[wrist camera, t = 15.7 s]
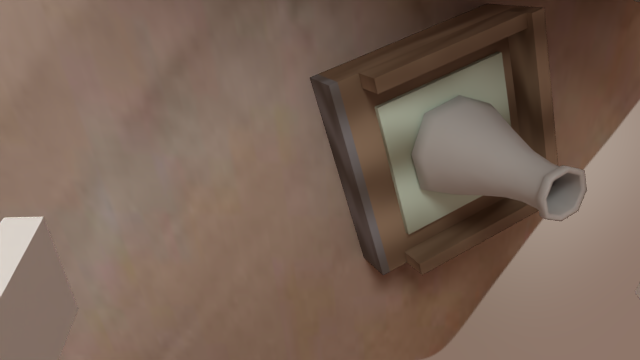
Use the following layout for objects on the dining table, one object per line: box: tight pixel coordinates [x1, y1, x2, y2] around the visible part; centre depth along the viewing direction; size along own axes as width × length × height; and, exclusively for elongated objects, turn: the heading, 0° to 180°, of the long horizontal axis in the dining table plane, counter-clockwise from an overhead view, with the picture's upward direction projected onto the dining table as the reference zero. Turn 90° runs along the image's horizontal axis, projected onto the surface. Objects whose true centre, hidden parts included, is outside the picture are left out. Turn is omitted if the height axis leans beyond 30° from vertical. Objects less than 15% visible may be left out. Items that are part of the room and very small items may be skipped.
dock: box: [310, 4, 558, 275], centre depth 39 cm, size 15×15×6 cm
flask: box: [411, 95, 587, 221], centre depth 34 cm, size 7×7×10 cm
